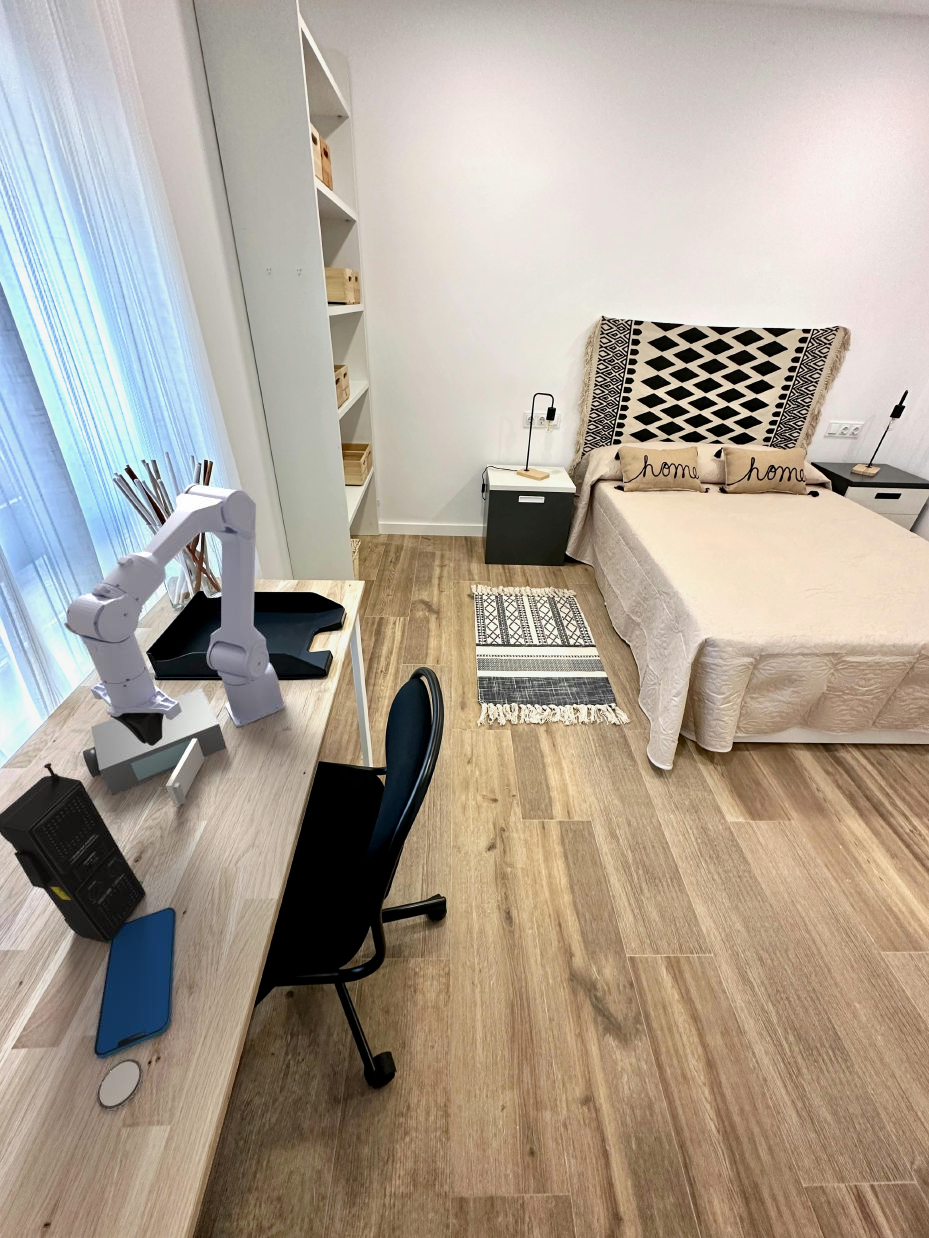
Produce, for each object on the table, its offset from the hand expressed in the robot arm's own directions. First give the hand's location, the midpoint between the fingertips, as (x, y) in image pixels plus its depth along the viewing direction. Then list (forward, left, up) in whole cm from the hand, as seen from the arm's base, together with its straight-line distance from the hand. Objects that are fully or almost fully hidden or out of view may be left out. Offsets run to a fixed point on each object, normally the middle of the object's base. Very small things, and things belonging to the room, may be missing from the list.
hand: (152, 740), depth 80 cm
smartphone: (+9, +29, -11) cm, 32 cm away
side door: (-3, +2, -10) cm, 11 cm away
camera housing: (-1, -9, -10) cm, 14 cm away
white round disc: (+12, +39, -11) cm, 42 cm away
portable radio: (+11, +19, -11) cm, 24 cm away
